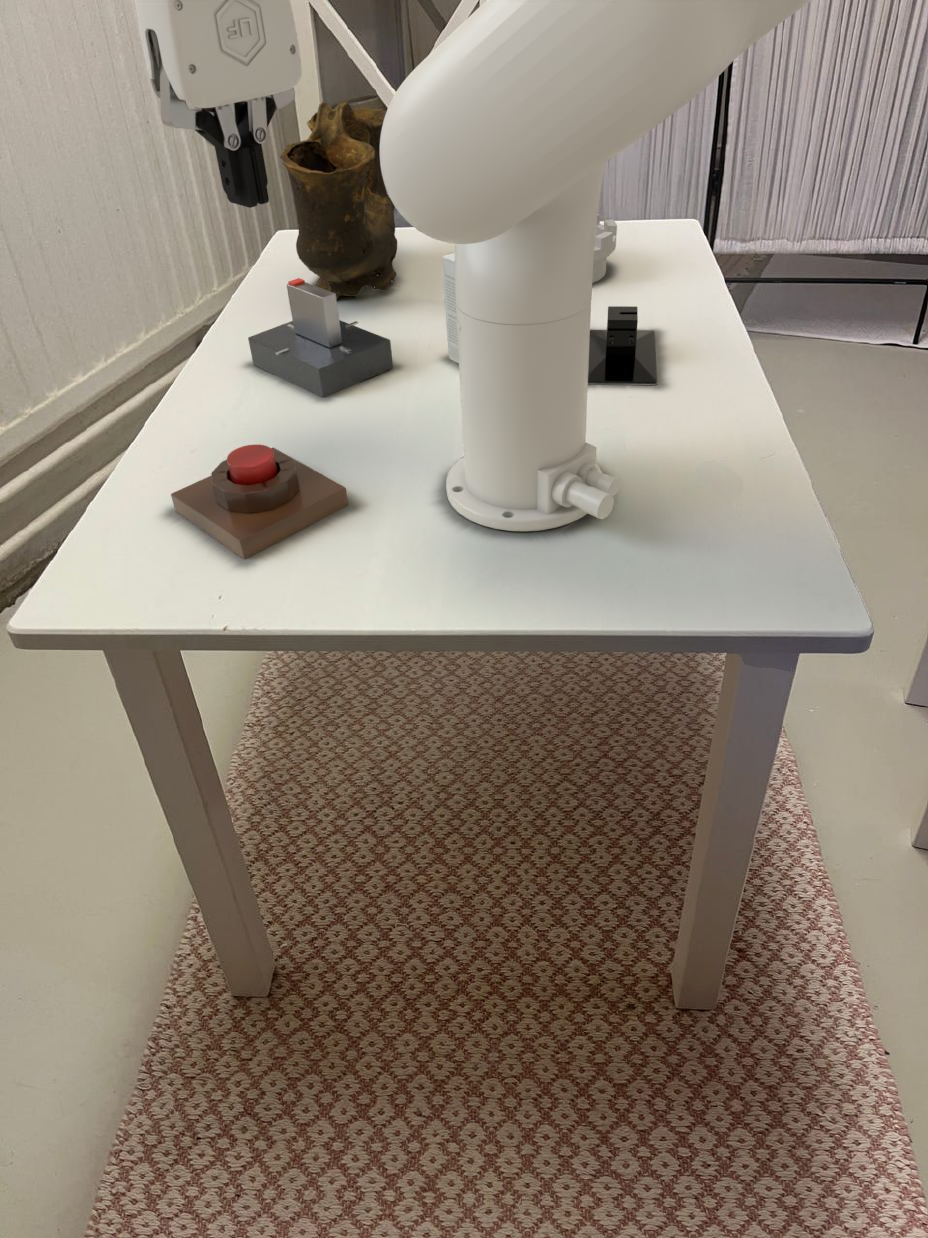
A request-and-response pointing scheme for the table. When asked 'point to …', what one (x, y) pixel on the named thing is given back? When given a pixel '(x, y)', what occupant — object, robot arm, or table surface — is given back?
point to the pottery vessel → (343, 200)
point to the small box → (450, 305)
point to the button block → (259, 505)
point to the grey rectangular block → (314, 313)
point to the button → (252, 464)
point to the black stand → (622, 351)
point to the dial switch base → (321, 357)
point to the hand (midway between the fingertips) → (248, 201)
